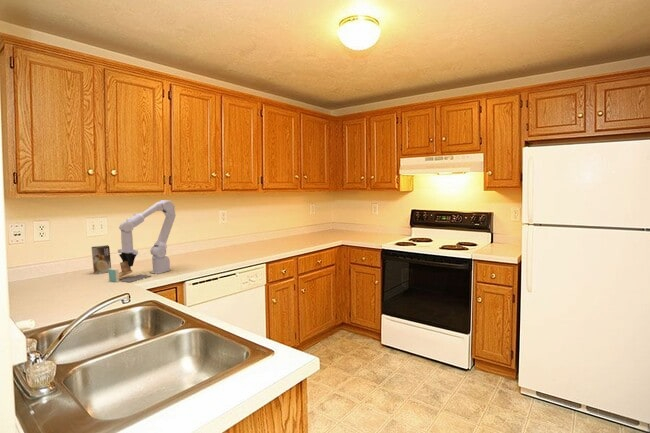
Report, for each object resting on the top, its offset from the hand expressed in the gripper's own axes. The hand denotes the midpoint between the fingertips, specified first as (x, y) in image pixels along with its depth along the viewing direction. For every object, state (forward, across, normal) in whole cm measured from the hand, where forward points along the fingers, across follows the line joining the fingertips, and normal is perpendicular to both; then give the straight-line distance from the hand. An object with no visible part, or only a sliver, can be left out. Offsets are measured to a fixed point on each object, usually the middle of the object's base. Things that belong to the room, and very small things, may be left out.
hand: (128, 265), depth 212 cm
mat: (+7, +6, -1) cm, 9 cm away
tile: (+7, 0, -9) cm, 11 cm away
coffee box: (+7, -26, +2) cm, 27 cm away
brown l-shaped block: (+4, 0, -4) cm, 6 cm away
